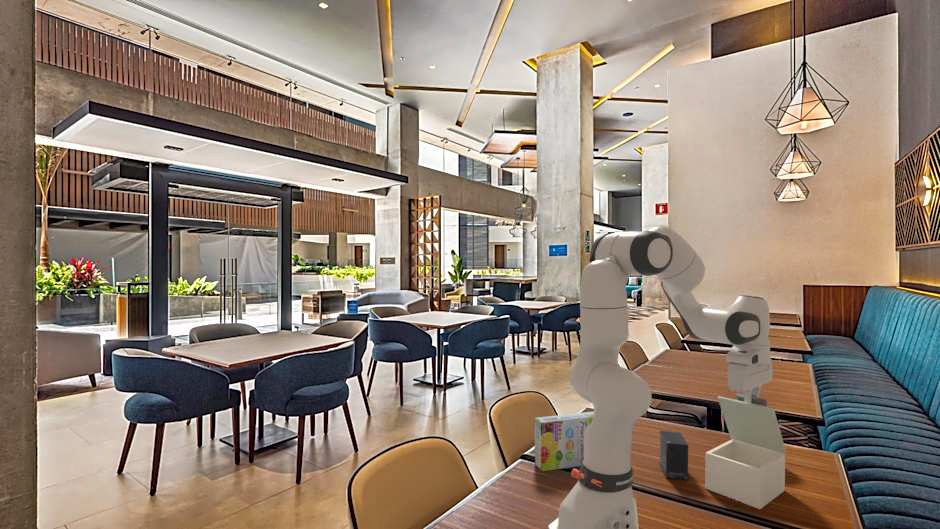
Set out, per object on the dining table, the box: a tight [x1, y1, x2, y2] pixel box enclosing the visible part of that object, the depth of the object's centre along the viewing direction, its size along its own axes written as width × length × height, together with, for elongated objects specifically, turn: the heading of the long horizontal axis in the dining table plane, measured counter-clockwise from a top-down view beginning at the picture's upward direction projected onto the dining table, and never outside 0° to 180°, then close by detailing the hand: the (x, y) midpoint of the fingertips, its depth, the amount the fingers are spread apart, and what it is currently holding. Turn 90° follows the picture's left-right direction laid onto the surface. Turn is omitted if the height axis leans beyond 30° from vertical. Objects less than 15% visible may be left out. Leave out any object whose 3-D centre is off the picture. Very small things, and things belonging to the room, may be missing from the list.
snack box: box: [533, 411, 594, 472], centre depth 149 cm, size 21×6×15 cm, turn 105°
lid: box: [717, 393, 787, 455], centre depth 135 cm, size 16×14×5 cm
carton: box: [704, 438, 786, 510], centre depth 132 cm, size 16×14×10 cm
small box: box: [659, 430, 689, 481], centre depth 143 cm, size 11×6×10 cm, turn 168°
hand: (751, 402), depth 134 cm, fingers open, 2 cm apart
